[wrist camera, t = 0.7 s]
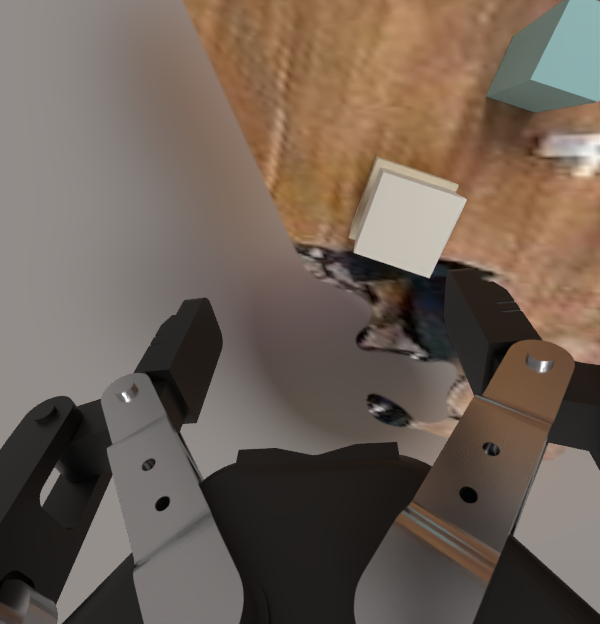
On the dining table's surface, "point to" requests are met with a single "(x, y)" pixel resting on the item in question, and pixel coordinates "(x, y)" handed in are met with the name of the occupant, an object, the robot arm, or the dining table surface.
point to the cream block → (407, 222)
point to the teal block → (553, 60)
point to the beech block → (400, 169)
